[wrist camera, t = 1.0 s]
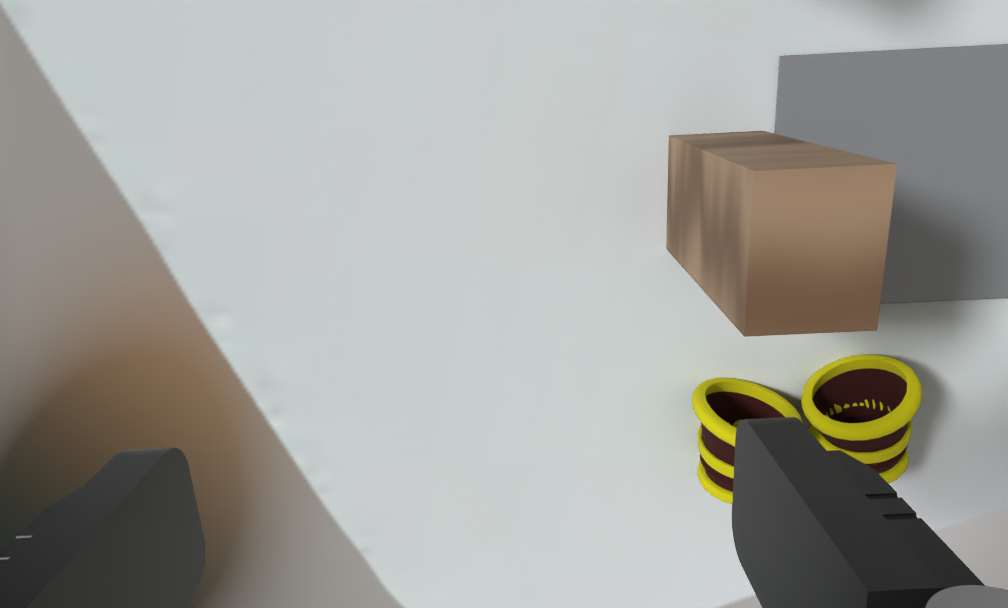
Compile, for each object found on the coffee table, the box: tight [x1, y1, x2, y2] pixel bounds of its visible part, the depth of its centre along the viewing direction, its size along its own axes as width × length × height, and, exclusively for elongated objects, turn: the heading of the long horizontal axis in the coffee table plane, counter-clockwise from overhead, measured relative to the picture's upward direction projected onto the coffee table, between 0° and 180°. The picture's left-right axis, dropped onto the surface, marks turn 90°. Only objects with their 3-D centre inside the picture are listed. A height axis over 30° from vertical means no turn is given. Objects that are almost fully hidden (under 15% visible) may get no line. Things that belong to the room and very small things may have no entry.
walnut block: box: [666, 131, 897, 336], centre depth 26 cm, size 5×4×11 cm
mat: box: [775, 44, 1008, 304], centre depth 31 cm, size 11×13×1 cm
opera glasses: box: [692, 355, 922, 504], centre depth 33 cm, size 10×5×5 cm, turn 100°
